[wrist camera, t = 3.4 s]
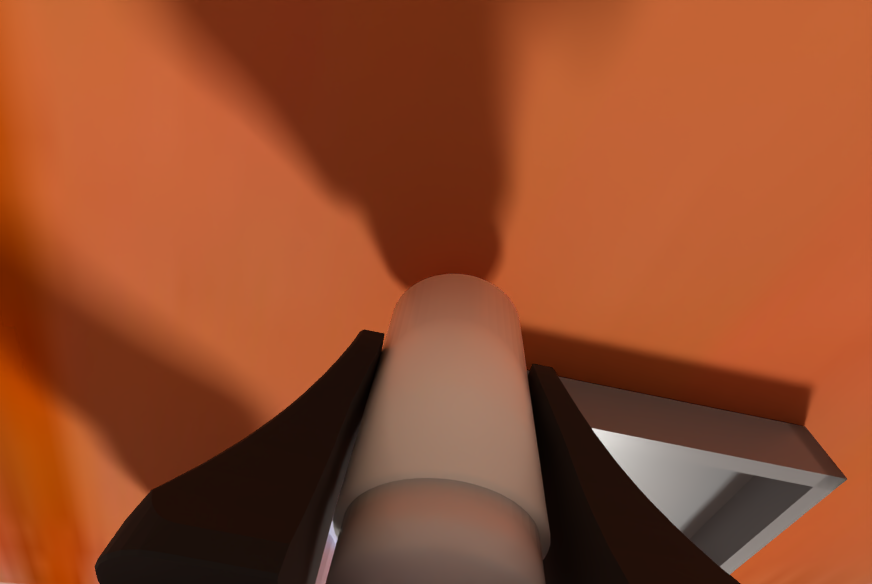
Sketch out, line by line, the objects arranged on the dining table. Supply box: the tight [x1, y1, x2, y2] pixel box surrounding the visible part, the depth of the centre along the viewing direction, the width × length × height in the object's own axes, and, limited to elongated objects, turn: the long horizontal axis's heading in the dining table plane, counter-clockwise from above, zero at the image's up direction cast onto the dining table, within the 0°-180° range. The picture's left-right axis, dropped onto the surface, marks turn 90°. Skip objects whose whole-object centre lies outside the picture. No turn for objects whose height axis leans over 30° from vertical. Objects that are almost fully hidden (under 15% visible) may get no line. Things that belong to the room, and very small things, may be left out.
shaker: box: [325, 274, 550, 584], centre depth 11 cm, size 4×4×8 cm
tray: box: [527, 370, 847, 575], centre depth 20 cm, size 14×12×2 cm
